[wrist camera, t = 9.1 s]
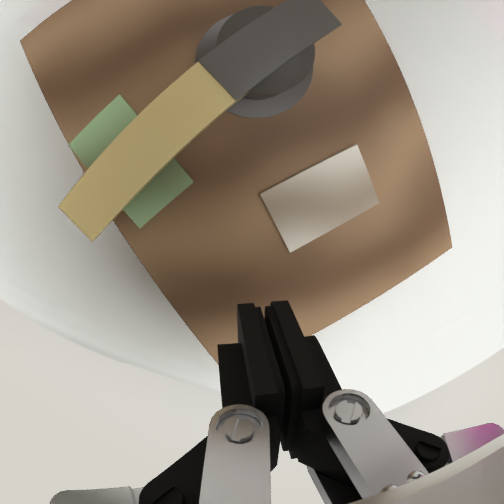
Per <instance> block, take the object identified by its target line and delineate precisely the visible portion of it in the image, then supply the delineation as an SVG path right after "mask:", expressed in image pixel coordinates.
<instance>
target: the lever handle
mask: <svg viewBox="0 0 504 504" xmlns="http://www.w3.org/2000/svg"><path fill="white" fill-rule="evenodd" d="M341 25H342V24H341V23H340V21H339V20H338V19H337V18H336V17H335V16H334V15H333V13H332V12H331V11H330V10H329V9H328V8H327V7H326V6H325V5H324V4H323V3H322V1H321V0H286V1H284V2H283V3H281V4H279V5H278V6H276V7H272V6H254V7H249V8H245V9H243V10H240V11H239V12H237V13H235V14H234V15H232V16H231V17H230V18H229V19H228V20H227V21H226V22H225V23H224V25H223V26H222V28H221V30H220V32H219V34H218V38H217V44H216V47H215V48H214V49H213V50H212V51H210V52H209V53H208V54H206V55H205V56H204V57H203V58H201V59H200V60H199V61H198V62H197V63H196V64H195V65H193V66H192V67H191V68H190V69H189V70H187V71H186V72H185V73H184V74H183V75H181V76H180V77H179V78H178V79H177V80H176V81H174V82H173V83H172V84H171V85H170V86H169V87H168V88H166V89H165V90H164V91H163V92H162V93H161V94H160V95H159V96H158V97H157V98H155V99H154V100H153V101H152V102H151V103H150V104H149V105H148V106H147V107H146V108H145V109H144V110H143V111H142V112H141V113H140V114H139V115H138V116H137V117H136V118H135V119H134V120H133V121H132V122H131V123H130V124H129V125H128V126H127V127H126V128H125V129H124V130H123V131H122V132H121V133H120V134H119V135H118V136H117V137H116V138H115V139H114V140H113V141H112V142H111V144H110V145H109V146H108V147H107V148H106V149H105V150H104V151H103V152H102V154H101V155H100V156H99V157H98V158H97V159H96V160H95V161H94V163H93V164H92V165H91V166H90V167H89V168H88V170H87V171H86V172H85V173H84V174H83V176H82V177H81V178H80V179H79V181H78V182H77V183H76V184H75V185H74V187H73V188H72V189H71V191H70V192H69V193H68V194H67V196H66V197H65V198H64V200H63V201H62V202H61V204H60V205H59V206H58V207H59V208H60V209H61V210H62V211H63V213H64V214H65V215H66V216H67V217H68V218H69V219H70V220H71V221H72V222H73V223H74V224H75V225H76V226H77V227H78V228H79V229H80V230H81V231H82V232H83V233H84V234H85V235H86V236H87V237H88V238H89V239H90V240H91V241H92V242H93V241H94V240H95V239H96V238H97V237H98V236H99V235H100V233H101V232H102V231H103V230H104V229H105V228H106V227H107V226H108V225H109V224H110V223H111V222H112V221H113V220H114V219H115V218H116V217H117V216H118V214H119V213H120V212H121V211H122V210H123V209H124V208H125V207H126V206H127V205H128V204H129V203H130V201H131V200H132V199H133V198H134V197H135V196H136V195H137V194H138V193H139V192H140V191H141V190H142V189H143V188H144V187H145V186H146V185H147V184H148V183H149V182H150V181H151V180H152V179H153V178H154V177H155V176H156V175H157V174H158V173H159V172H160V171H161V170H162V169H163V168H164V167H165V166H166V165H167V164H168V163H169V162H170V161H171V160H172V159H173V158H174V157H175V156H176V155H177V154H178V153H179V152H180V151H182V150H183V149H184V148H185V147H186V146H187V145H188V144H189V143H190V142H191V141H192V140H193V139H195V138H196V137H197V136H198V135H199V134H200V133H201V132H202V131H203V130H205V129H206V128H207V127H208V126H209V125H210V124H211V123H212V122H214V121H215V120H216V119H217V118H218V117H219V116H221V115H222V114H223V113H224V112H225V111H227V110H228V109H229V108H230V107H231V106H233V105H234V104H235V103H236V102H237V101H239V100H240V99H241V98H242V97H243V98H246V99H252V100H262V99H268V98H272V97H274V96H276V95H278V94H280V93H282V92H284V91H286V90H288V89H290V88H292V87H294V86H296V85H297V84H299V83H300V82H301V81H302V80H304V79H305V77H306V76H307V75H308V74H309V72H310V71H311V68H312V66H313V63H314V60H315V45H314V43H315V42H317V41H318V40H320V39H321V38H323V37H324V36H326V35H328V34H329V33H331V32H332V31H333V30H335V29H336V28H338V27H339V26H341Z"/></svg>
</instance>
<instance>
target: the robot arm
mask: <svg viewBox="0 0 504 504" xmlns="http://www.w3.org/2000/svg"><path fill="white" fill-rule="evenodd" d="M237 329H238V343H232V344H217V348H218V361H219V374H220V385H221V396H222V407H223V408H222V409H221V410H219V411H217V412H216V413H215V415H214V416H213V417H212V419H211V421H210V424H209V431H208V436H207V437H206V438H204V439H203V440H202V441H201V442H200V443H198V444H197V445H196V446H195V447H194V448H192V449H191V450H190V451H189V452H188V453H186V454H185V455H184V456H183V457H181V458H180V459H179V460H178V461H176V462H175V463H174V464H173V465H171V466H170V467H169V468H167V469H166V470H165V471H164V472H162V473H161V474H160V475H158V476H157V477H156V478H154V479H153V480H152V481H150V482H149V483H148V484H147V485H146V486H145V487H142V488H135V489H131V487H129V486H128V487H120V488H107V489H94V490H67V491H61V492H59V493H57V494H56V495H54V497H53V498H52V499H51V501H50V504H271V476H270V472H271V471H272V470H273V469H274V468H275V467H276V465H277V460H278V453H279V445H280V441H281V445H282V449H283V451H288V450H289V452H290V456H291V459H294V458H298V462H301V463H303V464H305V465H307V469H308V472H309V474H310V476H311V478H312V480H313V482H314V484H315V486H316V488H317V490H318V492H319V494H320V495H321V497H322V499H323V501H324V503H325V504H504V430H503V428H502V427H500V426H499V425H496V424H494V423H487V424H484V425H479V426H475V427H471V428H467V429H463V430H459V431H454V432H448V433H444V434H443V435H442V436H441V437H438V436H436V435H434V434H432V433H428V432H425V431H422V430H419V429H416V428H413V427H410V426H407V425H404V424H401V423H398V422H396V421H393V420H390V419H387V418H386V417H385V416H384V415H383V413H382V412H381V411H380V409H379V408H378V407H377V406H376V404H375V403H374V402H373V401H372V399H371V398H369V397H368V396H367V395H366V394H364V393H362V392H360V391H356V390H350V389H344V390H342V389H341V387H340V385H339V383H338V381H337V379H336V376H335V374H334V372H333V370H332V368H331V366H330V364H329V362H328V360H327V358H326V356H325V354H324V352H323V350H322V348H321V346H320V344H319V342H318V340H317V338H316V337H315V336H314V335H313V336H305V337H304V335H303V333H302V330H301V328H300V326H299V324H298V321H297V319H296V317H295V315H294V312H293V310H292V308H291V306H290V304H289V302H288V300H283V301H271V303H270V306H265V311H264V316H263V313H262V310H261V307H255V305H254V303H243V304H237Z"/></svg>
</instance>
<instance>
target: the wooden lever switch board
mask: <svg viewBox="0 0 504 504" xmlns="http://www.w3.org/2000/svg"><path fill="white" fill-rule="evenodd" d="M284 1H286V0H72V1H70V2H69V3H68V4H66V5H65V6H63V7H62V8H60V9H59V10H58V11H56V12H55V13H54V14H52V15H51V16H50V17H48V18H47V19H46V20H45V21H43V22H42V23H41V24H39V25H38V26H37V27H36V28H35V29H33V30H32V31H31V32H30V33H29V34H27V35H26V36H25V37H24V38H23V39H22V40H20V42H21V45H22V47H23V49H24V52H25V54H26V57H27V59H28V61H29V64H30V66H31V68H32V71H33V73H34V75H35V77H36V80H37V82H38V84H39V86H40V88H41V90H42V93H43V95H44V97H45V99H46V101H47V103H48V105H49V107H50V109H51V111H52V113H53V115H54V117H55V119H56V121H57V123H58V125H59V127H60V129H61V131H62V133H63V135H64V137H65V138H66V140H67V142H68V144H69V147H70V148H71V150H72V151H73V153H74V155H75V157H76V159H77V160H78V162H79V164H80V166H81V167H82V169H83V171H84V173H85V172H86V171H87V170H88V168H89V167H90V166H91V165H92V164H93V163H94V161H95V160H96V159H97V158H98V157H99V156H100V155H101V154H102V152H103V151H104V150H105V149H106V148H107V147H108V146H109V145H110V144H111V142H112V141H113V140H114V139H115V138H116V137H117V136H118V135H119V134H120V133H121V132H122V131H123V130H124V129H125V128H126V127H127V126H128V125H129V124H130V123H131V122H132V121H133V120H134V119H135V118H136V117H137V116H138V115H139V114H140V113H141V112H142V111H143V110H144V109H145V108H146V107H147V106H148V105H149V104H150V103H151V102H152V101H153V100H154V99H155V98H157V97H158V96H159V95H160V94H161V93H162V92H163V91H164V90H165V89H166V88H168V87H169V86H170V85H171V84H172V83H173V82H174V81H176V80H177V79H178V78H179V77H180V76H181V75H183V74H184V73H185V72H186V71H187V70H189V69H190V68H191V67H192V66H193V65H195V64H196V63H197V62H198V61H199V60H200V59H201V58H203V57H204V56H205V55H206V54H208V53H209V52H210V51H212V50H213V49H214V48H215V47H216V44H217V38H218V34H219V32H220V30H221V28H222V26H223V25H224V23H225V22H226V21H227V20H228V19H229V18H230V17H231V16H232V15H234V14H235V13H237V12H239V11H240V10H243V9H245V8H249V7H254V6H272V7H276V6H278V5H279V4H281V3H283V2H284ZM321 1H322V3H323V4H324V5H325V6H326V7H327V8H328V9H329V10H330V11H331V12H332V13H333V15H334V16H335V17H336V18H337V19H338V20H339V21H340V23H341V24H342V25H341V26H339V27H338V28H336V29H335V30H333V31H332V32H331V33H329V34H328V35H326V36H324V37H323V38H321V39H320V40H318V41H317V42H315V43H314V45H315V60H314V63H313V66H312V68H311V71H310V72H309V74H308V75H307V76H306V77H305V79H304V80H302V81H301V82H300V83H299V84H297V85H296V86H294V87H292V88H290V89H288V90H286V91H284V92H282V93H280V94H278V95H276V96H274V97H272V98H268V99H262V100H252V99H246V98H243V97H242V98H241V99H240V100H239V101H237V102H236V103H235V104H234V105H233V106H231V107H230V108H229V109H228V110H227V111H225V112H224V113H223V114H222V115H221V116H219V117H218V118H217V119H216V120H215V121H214V122H212V123H211V124H210V125H209V126H208V127H207V128H206V129H205V130H203V131H202V132H201V133H200V134H199V135H198V136H197V137H196V138H195V139H193V140H192V141H191V142H190V143H189V144H188V145H187V146H186V147H185V148H184V149H183V150H182V151H180V152H179V153H178V154H177V155H176V156H175V157H174V158H173V159H172V160H171V161H170V162H169V163H168V164H167V165H166V166H165V167H164V168H163V169H162V170H161V171H160V172H159V173H158V174H157V175H156V176H155V177H154V178H153V179H152V180H151V181H150V182H149V183H148V184H147V185H146V186H145V187H144V188H143V189H142V190H141V191H140V192H139V193H138V194H137V195H136V196H135V197H134V198H133V199H132V200H131V201H130V203H129V204H128V205H127V206H126V207H125V208H124V209H123V210H122V211H121V212H120V213H119V214H118V216H117V217H116V218H115V219H114V220H113V221H114V222H115V224H116V225H117V227H118V228H119V230H120V231H121V233H122V235H123V236H124V238H125V239H126V241H127V242H128V244H129V245H130V247H131V248H132V250H133V251H134V253H135V254H136V256H137V257H138V259H139V260H140V261H141V263H142V264H143V266H144V267H145V269H146V270H147V272H148V273H149V274H150V276H151V277H152V279H153V280H154V281H155V283H156V284H157V286H158V287H159V288H160V290H161V291H162V293H163V294H164V295H165V297H166V298H167V299H168V301H169V302H170V303H171V305H172V306H173V307H174V309H175V310H176V311H177V313H178V314H179V315H180V317H181V318H182V319H183V321H184V322H185V323H186V325H187V326H188V327H189V328H190V330H191V331H192V332H193V334H194V335H195V336H196V337H197V339H198V340H199V341H200V342H201V344H202V345H203V346H204V347H205V349H206V350H207V351H208V352H209V354H210V355H211V356H212V357H213V358H214V360H215V361H216V362H217V363H218V365H219V361H218V348H217V344H232V343H238V329H237V304H243V303H254V305H255V307H261V310H262V313H263V316H264V311H265V306H270V303H271V301H283V300H288V302H289V304H290V306H291V308H292V310H293V312H294V315H295V317H296V319H297V321H298V324H299V326H300V328H301V330H302V333H303V335H304V337H305V336H311V335H313V334H314V333H316V332H318V331H320V330H322V329H324V328H325V327H327V326H329V325H331V324H332V323H334V322H336V321H338V320H340V319H341V318H343V317H345V316H347V315H348V314H350V313H352V312H353V311H355V310H357V309H358V308H360V307H362V306H363V305H365V304H367V303H368V302H370V301H372V300H373V299H375V298H377V297H378V296H380V295H382V294H383V293H385V292H386V291H388V290H389V289H391V288H393V287H394V286H396V285H397V284H399V283H400V282H402V281H404V280H405V279H407V278H408V277H410V276H411V275H413V274H414V273H416V272H417V271H419V270H420V269H422V268H423V267H425V266H426V265H428V264H429V263H430V262H432V261H433V260H435V259H436V258H438V257H439V256H441V255H442V254H443V253H445V252H446V251H448V250H449V249H450V248H452V243H451V237H450V231H449V226H448V221H447V216H446V211H445V206H444V202H443V197H442V193H441V189H440V185H439V181H438V177H437V173H436V169H435V166H434V162H433V159H432V155H431V152H430V149H429V145H428V142H427V139H426V136H425V133H424V130H423V127H422V124H421V121H420V118H419V116H418V113H417V110H416V107H415V105H414V102H413V100H412V97H411V94H410V92H409V89H408V87H407V85H406V82H405V80H404V78H403V75H402V73H401V71H400V68H399V66H398V64H397V62H396V60H395V57H394V55H393V53H392V51H391V49H390V47H389V45H388V43H387V41H386V39H385V37H384V35H383V33H382V31H381V29H380V27H379V26H378V24H377V22H376V20H375V18H374V16H373V15H372V13H371V11H370V9H369V8H368V6H367V4H366V3H365V1H364V0H321Z"/></svg>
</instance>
